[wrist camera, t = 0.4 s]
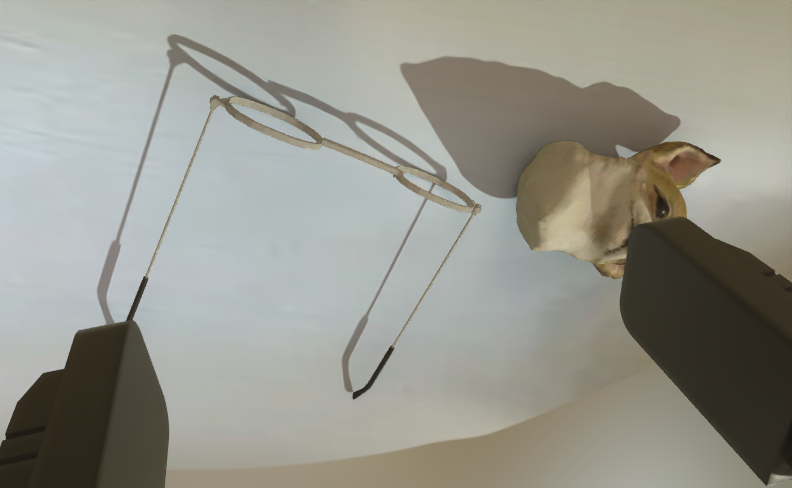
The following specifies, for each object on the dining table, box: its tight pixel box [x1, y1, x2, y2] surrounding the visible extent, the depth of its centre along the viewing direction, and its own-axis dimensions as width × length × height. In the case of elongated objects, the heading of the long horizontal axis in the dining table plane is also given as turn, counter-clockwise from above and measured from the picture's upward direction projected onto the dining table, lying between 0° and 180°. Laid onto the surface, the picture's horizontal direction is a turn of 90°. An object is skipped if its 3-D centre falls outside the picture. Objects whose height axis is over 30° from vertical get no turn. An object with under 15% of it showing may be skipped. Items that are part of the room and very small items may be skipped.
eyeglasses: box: [126, 95, 481, 399], centre depth 40 cm, size 18×19×4 cm
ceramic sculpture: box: [516, 141, 721, 279], centre depth 41 cm, size 11×9×15 cm
